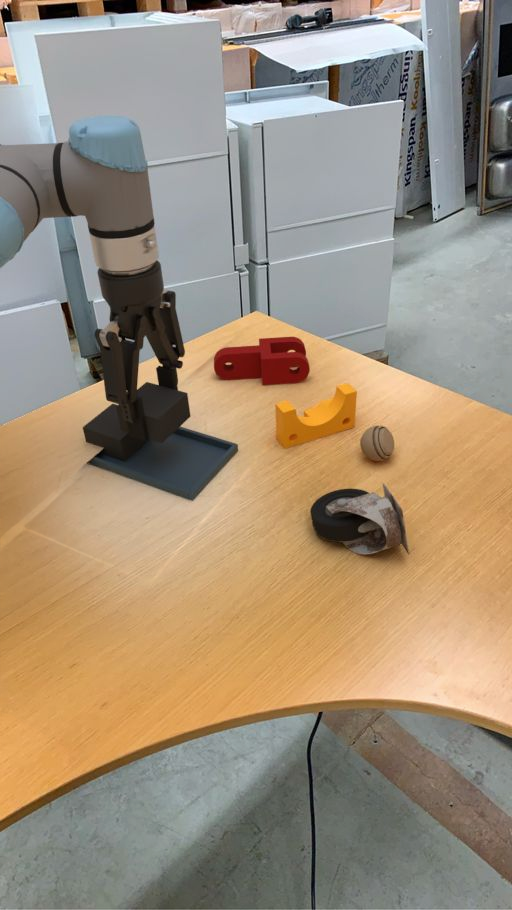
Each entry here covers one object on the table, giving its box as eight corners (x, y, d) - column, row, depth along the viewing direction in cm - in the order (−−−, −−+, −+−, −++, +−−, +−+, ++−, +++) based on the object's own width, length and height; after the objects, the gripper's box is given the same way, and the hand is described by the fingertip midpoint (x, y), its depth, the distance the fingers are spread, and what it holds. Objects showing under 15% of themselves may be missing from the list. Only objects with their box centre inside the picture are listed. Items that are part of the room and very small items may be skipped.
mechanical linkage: (304, 361, 116) (304, 335, 113) (309, 382, 110) (309, 356, 107) (215, 366, 116) (212, 341, 113) (215, 388, 110) (212, 362, 107)
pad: (87, 449, 97) (82, 427, 95) (117, 424, 102) (112, 403, 100) (124, 462, 94) (120, 440, 92) (153, 436, 99) (149, 414, 97)
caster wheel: (310, 528, 87) (382, 507, 87) (332, 578, 76) (413, 554, 77) (300, 485, 84) (374, 463, 84) (322, 532, 73) (406, 507, 74)
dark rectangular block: (120, 430, 91) (115, 406, 88) (150, 405, 96) (146, 381, 93) (162, 443, 88) (157, 419, 85) (190, 416, 93) (187, 392, 90)
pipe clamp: (340, 412, 103) (341, 377, 99) (354, 427, 100) (356, 391, 96) (271, 433, 99) (270, 397, 95) (283, 448, 96) (283, 412, 92)
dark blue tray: (72, 460, 96) (70, 451, 95) (123, 417, 104) (122, 408, 103) (192, 503, 88) (191, 494, 87) (238, 453, 96) (237, 443, 95)
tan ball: (369, 471, 91) (371, 443, 88) (353, 451, 95) (355, 423, 92) (400, 463, 92) (404, 434, 89) (384, 443, 96) (387, 415, 93)
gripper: (98, 302, 69) (133, 470, 83) (200, 239, 83) (215, 393, 97) (46, 291, 72) (88, 454, 86) (152, 232, 86) (174, 381, 100)
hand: (155, 421), depth 92 cm, fingers closed on dark rectangular block, 7 cm apart
